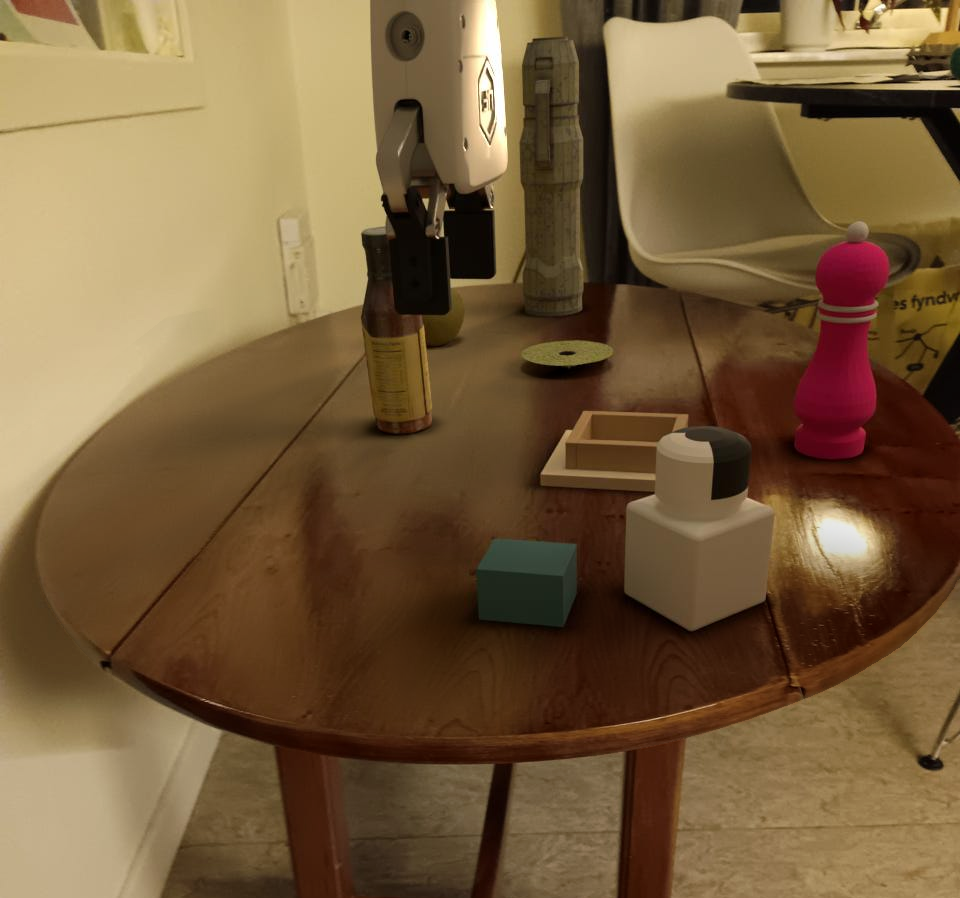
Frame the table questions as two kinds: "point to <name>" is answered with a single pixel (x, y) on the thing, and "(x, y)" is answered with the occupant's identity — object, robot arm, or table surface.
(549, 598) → the teal block
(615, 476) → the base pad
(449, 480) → the table surface
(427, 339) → the apple
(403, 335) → the sauce bottle
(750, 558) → the medicine bottle
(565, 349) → the green disc with hole
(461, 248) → the robot arm
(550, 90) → the thermos
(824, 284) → the pepper mill
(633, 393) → the table surface
